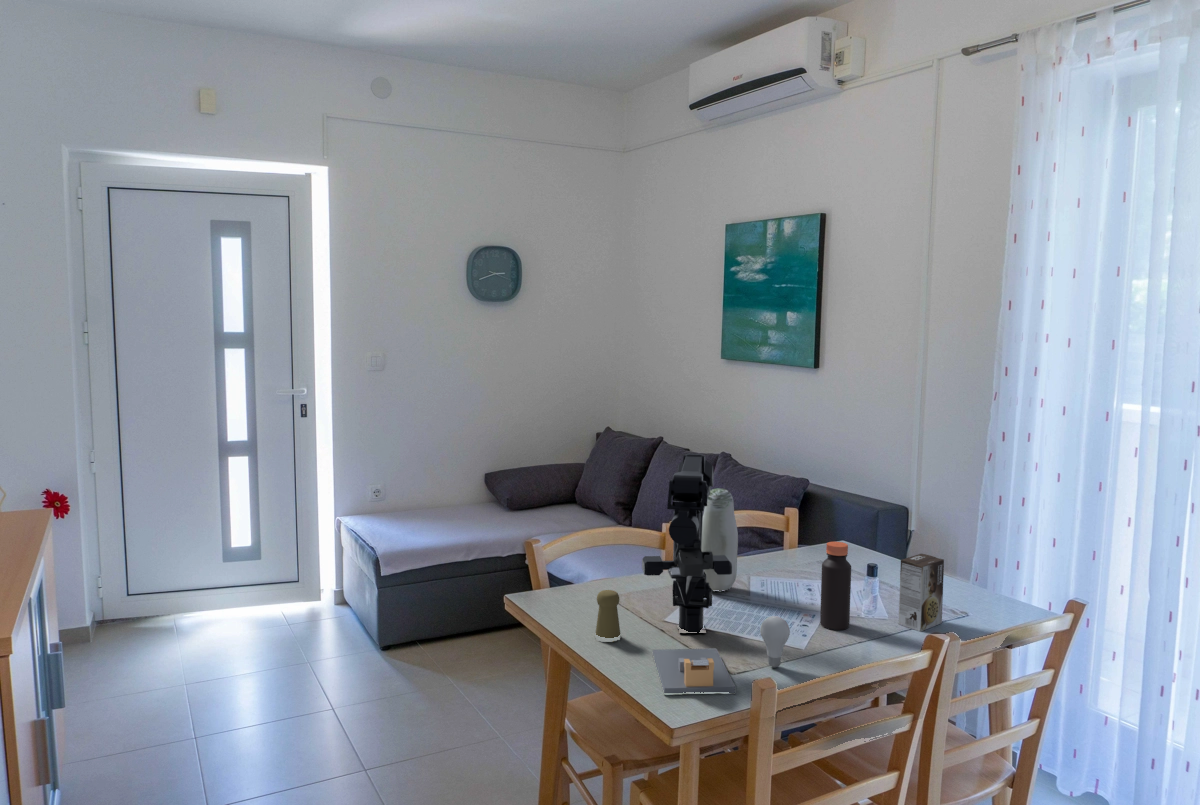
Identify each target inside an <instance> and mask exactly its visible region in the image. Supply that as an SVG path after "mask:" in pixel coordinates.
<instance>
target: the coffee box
mask: <svg viewBox="0 0 1200 805" xmlns="http://www.w3.org/2000/svg"><path fill="white" fill-rule="evenodd" d="M944 569H945V559H942V558H939V557H936V556H934V555H929V554H927V553H919V554H918V553H917V554H915V555H912V556H909V557H906V558H902V559H900V571H899V572H900V573H899V575H900V576H899V600H898V601H899V602H898V625H900V626H903V627H906V628H908V629H912V630H915V631H917V632H923V631H926V630H928V629H931V628H934V627H935V626H938V625H940V624H942V623H943V604H944V603H943V600H944V599H943V597H944V576H945V575H944V574H945V573H944V572H945V570H944Z"/></svg>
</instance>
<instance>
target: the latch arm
mask: <svg viewBox="0 0 1200 805" xmlns="http://www.w3.org/2000/svg"><path fill="white" fill-rule="evenodd" d="M690 662H691V666H707V665H709V661H708V660H691V661H690Z"/></svg>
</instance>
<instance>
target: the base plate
mask: <svg viewBox="0 0 1200 805" xmlns="http://www.w3.org/2000/svg"><path fill="white" fill-rule="evenodd" d="M653 656H654V659H653V661H654V660H655V663H656V666H655V668H656V667H657V669H656V671H657V670H658V673H659V676H658V678H659V677H660V680H661V683H662V686H661V688H662V687H663V690H664V693H683V692H684V693H686V692H694V693H695V692H700V693H701V692H703V693H704V692H729V693H735V694H736V685H735V683H734V681H733V678H732V677H731V675H730V673H729V672H728V669H727V667H726V665H725V663H724V661H723V659H722V657H721V655H720V653H719V651H718V649H717V648H715V647H714V648H672V649H671V648H670V649H669V648H665V649H663V648H662V649H659V648H658V649H652V657H653ZM691 660H708V661H709V665H707V666H691V662H690V661H691ZM655 663H654V664H655ZM658 673H657V674H658ZM660 680H659V681H660ZM661 683H660V684H661ZM663 690H662V691H663ZM664 693H663V694H664Z"/></svg>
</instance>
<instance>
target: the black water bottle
mask: <svg viewBox="0 0 1200 805" xmlns="http://www.w3.org/2000/svg"><path fill="white" fill-rule="evenodd" d="M848 550H849V544H848V543H846V542H842V541H829V542H826V550H825V553H826V556H827V558H826V559H825V560H824V561H823V562H822V564H821V578H820V580H821V581H820V583H821V584H820V585H821V586H820V610H819V611H820V616H819V618H820V619H819V623H821V624H820V625H821V626H822V627H823V626H824V627H823V628H825V627H826V628H825V629H828V628H829V630H832V629H834V630H833V631H845V630H847V629H848V628H849V627H850V622H851V621H850V620H851V619H850V616H851V592H852V590H851V589H852V585H851V584H852V565H851V563H850V562H849V561H848V560H847V557H848V553H849V551H848Z"/></svg>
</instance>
